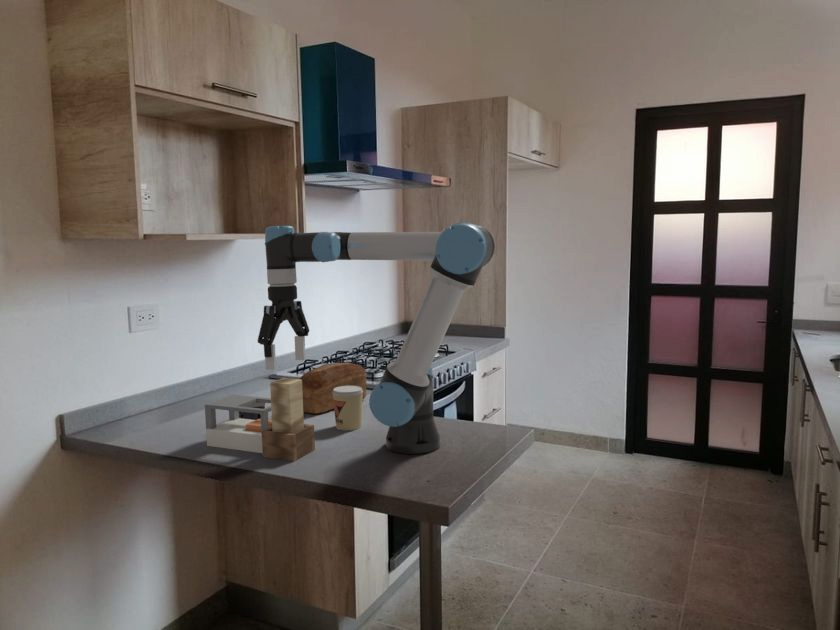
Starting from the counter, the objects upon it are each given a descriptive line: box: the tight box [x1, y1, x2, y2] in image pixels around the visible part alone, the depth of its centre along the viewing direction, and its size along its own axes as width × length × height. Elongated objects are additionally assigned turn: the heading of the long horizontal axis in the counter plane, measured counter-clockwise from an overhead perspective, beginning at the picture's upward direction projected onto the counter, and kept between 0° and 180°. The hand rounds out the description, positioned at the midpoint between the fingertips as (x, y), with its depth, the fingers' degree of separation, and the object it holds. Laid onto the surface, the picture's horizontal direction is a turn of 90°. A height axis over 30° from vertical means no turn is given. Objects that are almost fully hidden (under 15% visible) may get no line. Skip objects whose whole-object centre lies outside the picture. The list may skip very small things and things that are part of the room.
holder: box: [262, 423, 316, 462], centre depth 179 cm, size 10×10×7 cm
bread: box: [299, 362, 368, 414], centre depth 229 cm, size 12×28×14 cm, turn 143°
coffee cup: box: [332, 386, 363, 432], centre depth 203 cm, size 9×9×12 cm
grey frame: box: [204, 394, 272, 454], centre depth 188 cm, size 20×12×12 cm, turn 67°
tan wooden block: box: [269, 377, 305, 434], centre depth 178 cm, size 6×6×20 cm
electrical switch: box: [239, 402, 266, 420], centre depth 204 cm, size 9×5×9 cm, turn 113°
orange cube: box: [246, 419, 272, 432], centre depth 187 cm, size 6×6×6 cm
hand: (286, 364), depth 177 cm, fingers open, 13 cm apart
